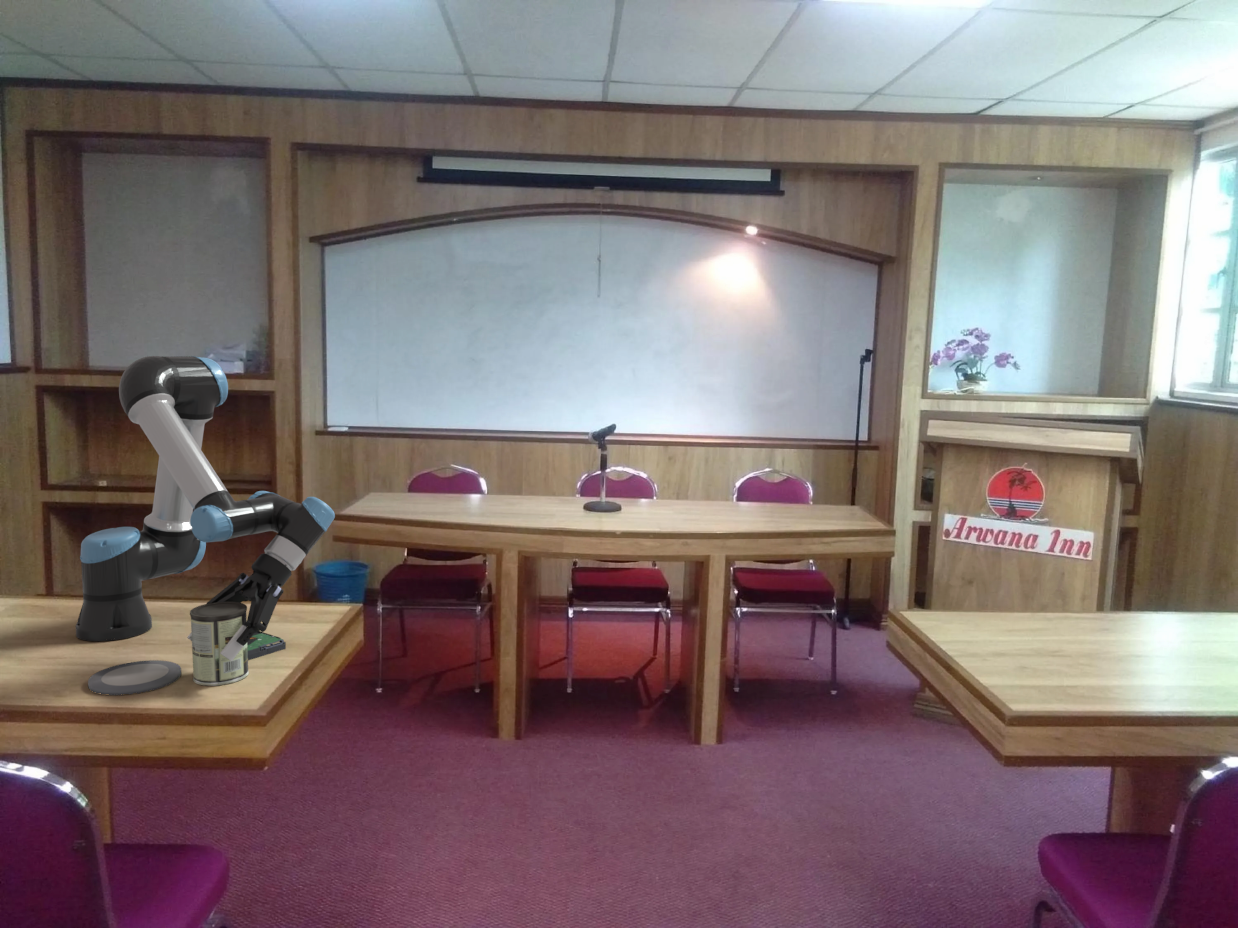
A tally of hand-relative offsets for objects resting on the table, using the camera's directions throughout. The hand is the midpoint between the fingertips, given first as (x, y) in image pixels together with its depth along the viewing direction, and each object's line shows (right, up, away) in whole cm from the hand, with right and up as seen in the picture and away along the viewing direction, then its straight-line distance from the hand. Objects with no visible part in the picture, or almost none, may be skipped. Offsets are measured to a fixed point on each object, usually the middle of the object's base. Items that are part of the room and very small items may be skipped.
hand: (208, 649), depth 168 cm
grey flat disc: (-14, -6, 0) cm, 15 cm away
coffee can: (+1, -6, +3) cm, 7 cm away
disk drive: (-1, -5, +19) cm, 20 cm away
